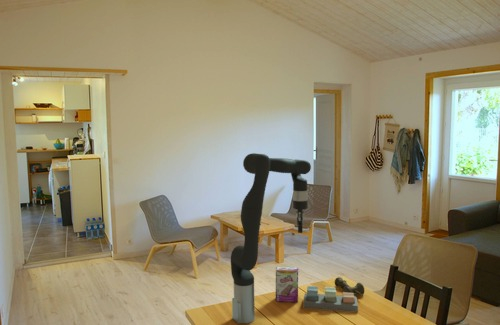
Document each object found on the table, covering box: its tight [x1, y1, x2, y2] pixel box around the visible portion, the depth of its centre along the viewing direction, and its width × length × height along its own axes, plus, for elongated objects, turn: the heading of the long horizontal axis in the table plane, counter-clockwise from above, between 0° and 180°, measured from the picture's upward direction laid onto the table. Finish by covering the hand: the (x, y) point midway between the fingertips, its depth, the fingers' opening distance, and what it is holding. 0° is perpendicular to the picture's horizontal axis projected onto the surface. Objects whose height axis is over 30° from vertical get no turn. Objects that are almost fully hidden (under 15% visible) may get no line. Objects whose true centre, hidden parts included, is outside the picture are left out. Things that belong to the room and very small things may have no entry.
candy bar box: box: [275, 266, 299, 303], centre depth 199 cm, size 11×5×16 cm, turn 84°
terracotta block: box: [342, 292, 355, 304], centre depth 192 cm, size 5×5×5 cm
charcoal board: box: [303, 292, 359, 313], centre depth 193 cm, size 10×25×3 cm, turn 79°
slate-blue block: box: [306, 285, 319, 301], centre depth 195 cm, size 5×5×5 cm
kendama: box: [334, 276, 365, 296], centre depth 207 cm, size 6×10×20 cm
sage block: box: [324, 286, 337, 302], centre depth 193 cm, size 5×5×5 cm
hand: (300, 232), depth 205 cm, fingers closed
